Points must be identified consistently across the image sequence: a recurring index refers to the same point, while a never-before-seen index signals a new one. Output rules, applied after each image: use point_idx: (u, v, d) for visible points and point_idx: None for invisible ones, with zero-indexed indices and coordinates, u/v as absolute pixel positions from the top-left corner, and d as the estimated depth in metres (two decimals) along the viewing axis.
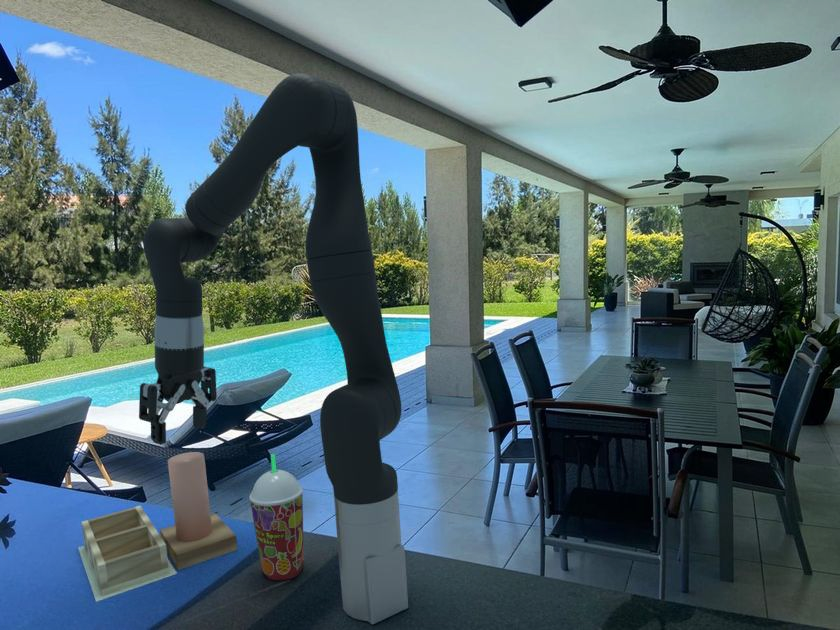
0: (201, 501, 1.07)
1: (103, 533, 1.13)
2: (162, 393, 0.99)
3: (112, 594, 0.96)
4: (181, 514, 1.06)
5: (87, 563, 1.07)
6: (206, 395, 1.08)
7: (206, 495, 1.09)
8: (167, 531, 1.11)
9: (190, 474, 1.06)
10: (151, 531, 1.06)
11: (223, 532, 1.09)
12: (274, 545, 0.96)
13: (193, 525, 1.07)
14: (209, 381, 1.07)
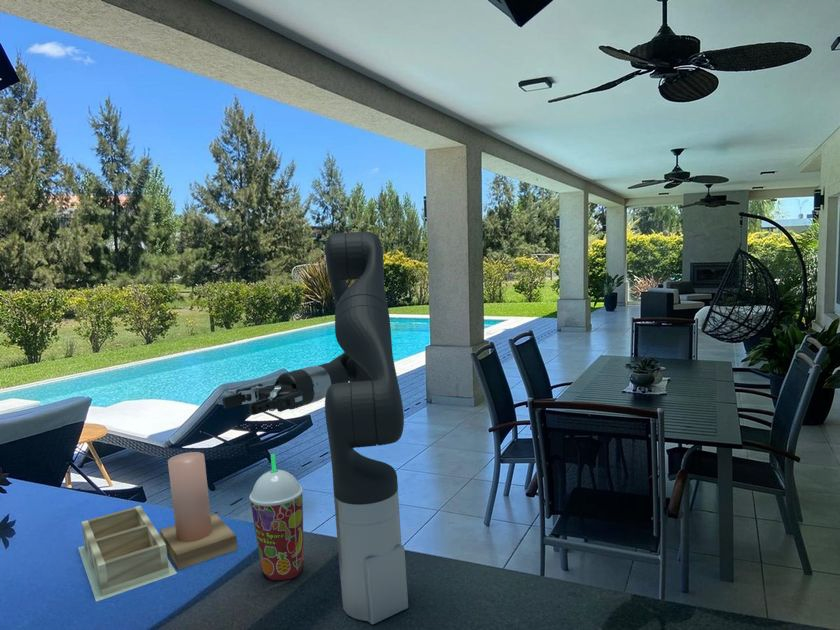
0: (201, 501, 1.07)
1: (103, 533, 1.13)
2: None
3: (112, 594, 0.96)
4: (181, 514, 1.06)
5: (87, 563, 1.07)
6: None
7: (206, 495, 1.09)
8: (167, 531, 1.11)
9: (190, 474, 1.06)
10: (151, 531, 1.06)
11: (223, 532, 1.09)
12: (274, 545, 0.96)
13: (193, 525, 1.07)
14: None
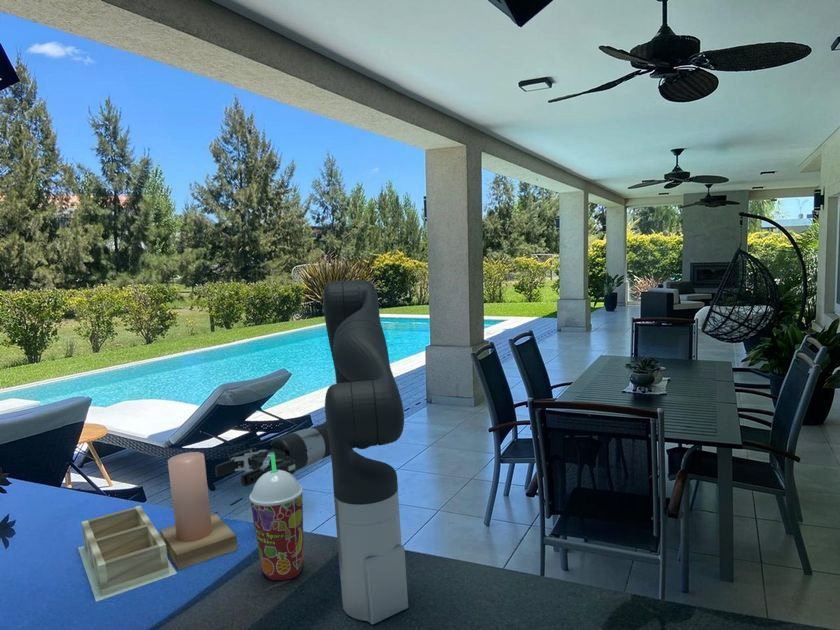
0: (201, 501, 1.07)
1: (103, 533, 1.13)
2: None
3: (112, 594, 0.96)
4: (180, 514, 1.06)
5: (87, 563, 1.07)
6: None
7: (206, 495, 1.09)
8: (167, 531, 1.11)
9: (190, 474, 1.06)
10: (151, 531, 1.06)
11: (223, 532, 1.09)
12: (274, 545, 0.96)
13: (193, 525, 1.07)
14: None
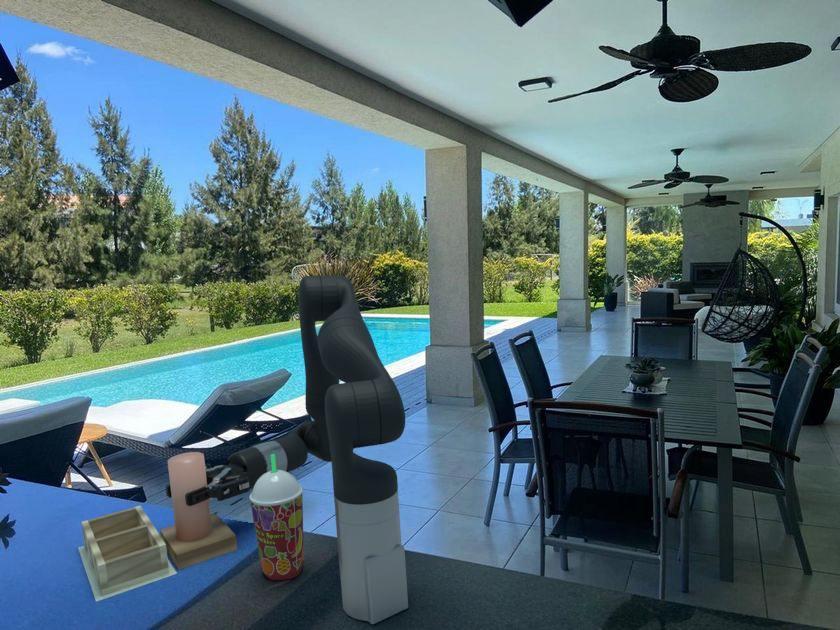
0: (200, 502, 1.07)
1: (103, 533, 1.13)
2: None
3: (112, 594, 0.96)
4: (180, 514, 1.06)
5: (87, 563, 1.07)
6: None
7: None
8: (167, 531, 1.11)
9: (189, 474, 1.06)
10: (151, 531, 1.06)
11: (223, 532, 1.09)
12: (274, 545, 0.96)
13: (193, 525, 1.07)
14: None
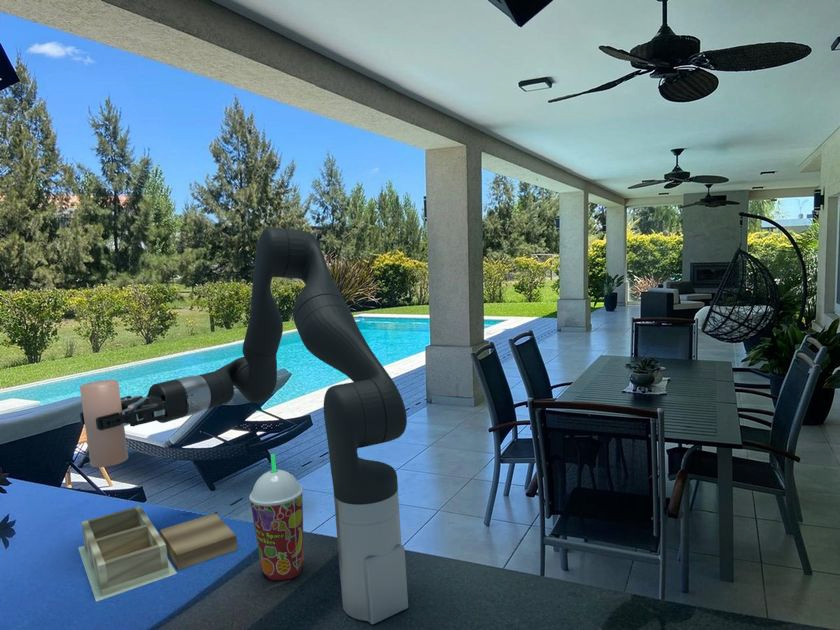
0: (113, 427, 1.06)
1: (103, 533, 1.13)
2: None
3: (112, 594, 0.96)
4: (92, 439, 1.05)
5: (87, 563, 1.07)
6: None
7: None
8: (167, 531, 1.11)
9: (101, 398, 1.05)
10: (151, 531, 1.06)
11: (223, 532, 1.09)
12: (274, 545, 0.96)
13: (106, 450, 1.06)
14: None
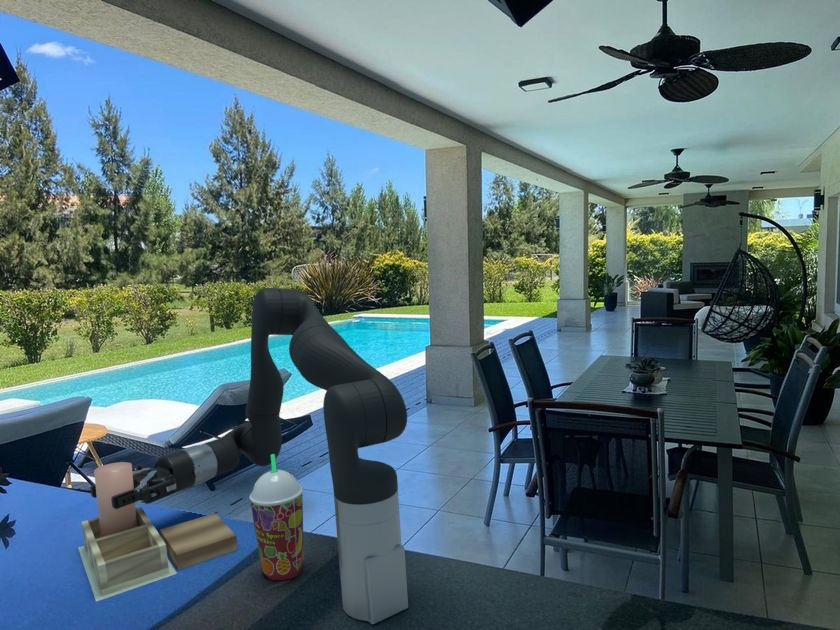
0: (126, 511, 1.09)
1: None
2: None
3: (112, 594, 0.96)
4: (105, 523, 1.07)
5: (87, 563, 1.07)
6: None
7: (132, 505, 1.10)
8: (167, 531, 1.11)
9: (114, 484, 1.07)
10: (151, 531, 1.06)
11: (223, 532, 1.09)
12: (274, 545, 0.96)
13: None
14: None
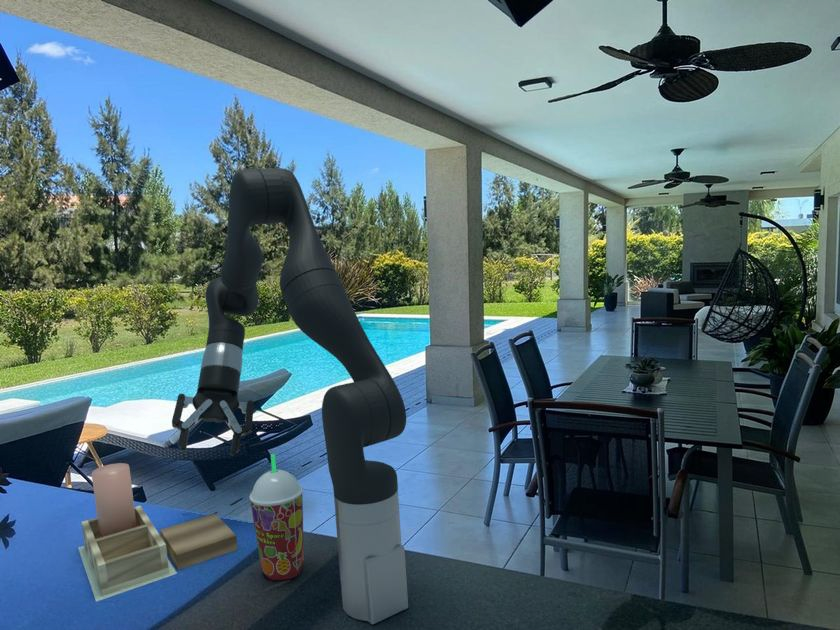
0: (124, 513, 1.08)
1: None
2: (197, 410, 1.16)
3: (112, 594, 0.96)
4: (104, 525, 1.07)
5: (87, 563, 1.07)
6: None
7: (131, 506, 1.10)
8: (167, 531, 1.11)
9: (112, 486, 1.07)
10: (151, 531, 1.06)
11: (223, 532, 1.09)
12: (274, 545, 0.96)
13: None
14: (246, 411, 1.17)
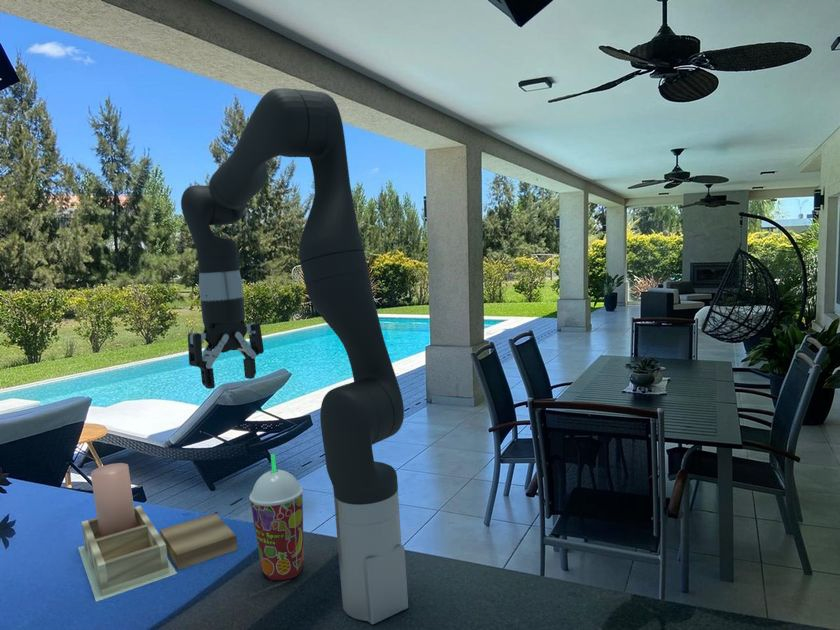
0: (124, 512, 1.08)
1: None
2: (209, 343, 1.12)
3: (112, 594, 0.96)
4: (103, 525, 1.07)
5: (87, 563, 1.07)
6: (254, 348, 1.18)
7: (130, 506, 1.10)
8: (167, 531, 1.11)
9: (111, 486, 1.07)
10: (151, 531, 1.06)
11: (223, 532, 1.09)
12: (274, 545, 0.96)
13: None
14: (255, 335, 1.17)
